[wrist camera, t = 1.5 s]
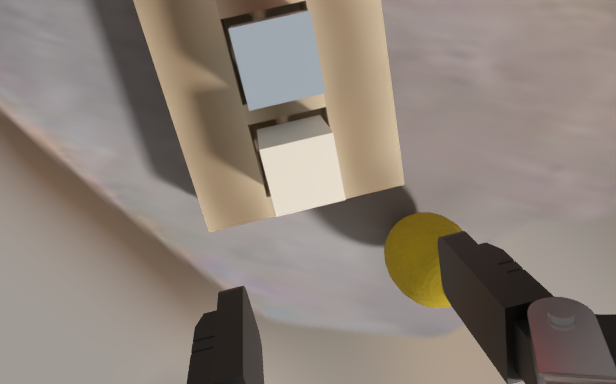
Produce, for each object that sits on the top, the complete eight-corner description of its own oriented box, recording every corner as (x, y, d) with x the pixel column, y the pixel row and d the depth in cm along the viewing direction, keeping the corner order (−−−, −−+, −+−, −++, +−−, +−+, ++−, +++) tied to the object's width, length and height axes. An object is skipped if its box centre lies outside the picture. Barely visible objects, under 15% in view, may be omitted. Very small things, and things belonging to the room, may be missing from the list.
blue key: (299, 10, 23) (310, 10, 19) (313, 80, 25) (325, 93, 21) (230, 25, 23) (227, 28, 19) (248, 95, 24) (249, 110, 21)
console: (340, -150, 24) (357, -180, 20) (385, 164, 31) (404, 184, 27) (115, -104, 24) (91, -126, 20) (212, 205, 30) (208, 232, 27)
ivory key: (319, 114, 25) (333, 132, 22) (331, 173, 27) (345, 200, 23) (256, 129, 25) (259, 150, 21) (271, 188, 27) (276, 217, 23)
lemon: (396, 276, 35) (438, 348, 27) (357, 225, 33) (390, 288, 25) (457, 234, 34) (517, 296, 27) (421, 180, 32) (474, 231, 25)
